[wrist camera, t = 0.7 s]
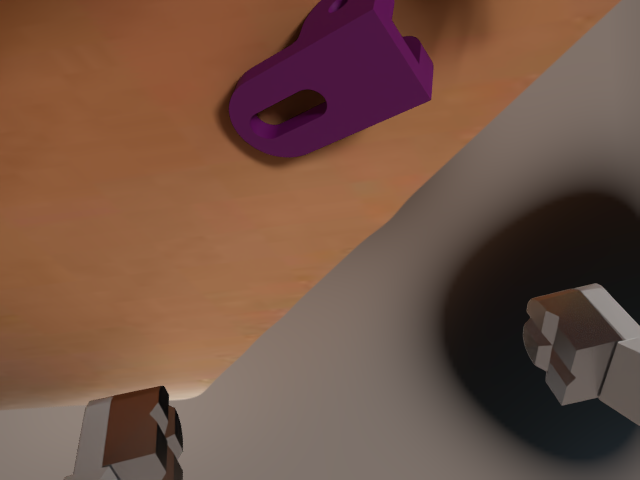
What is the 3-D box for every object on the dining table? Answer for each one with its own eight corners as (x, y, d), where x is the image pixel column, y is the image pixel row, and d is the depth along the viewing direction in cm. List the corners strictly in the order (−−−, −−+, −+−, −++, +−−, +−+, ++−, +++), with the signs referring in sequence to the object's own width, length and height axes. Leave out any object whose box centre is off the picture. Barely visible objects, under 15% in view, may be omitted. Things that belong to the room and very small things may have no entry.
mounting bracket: (288, 116, 60) (435, 44, 51) (272, 168, 55) (431, 100, 45) (232, 51, 55) (384, -44, 45) (208, 102, 50) (373, 8, 40)
